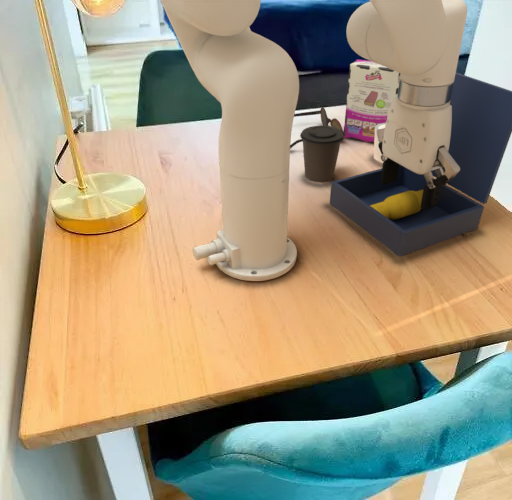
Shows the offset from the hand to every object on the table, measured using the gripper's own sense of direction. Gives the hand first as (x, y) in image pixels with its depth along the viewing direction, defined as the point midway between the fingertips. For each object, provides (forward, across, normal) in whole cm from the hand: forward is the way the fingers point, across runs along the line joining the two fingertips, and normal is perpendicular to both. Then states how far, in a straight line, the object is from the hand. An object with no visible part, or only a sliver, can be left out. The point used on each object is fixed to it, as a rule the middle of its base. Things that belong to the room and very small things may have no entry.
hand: (408, 194), depth 84 cm
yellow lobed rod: (+4, 0, -1) cm, 4 cm away
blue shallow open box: (+5, 0, -1) cm, 5 cm away
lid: (-9, 0, +8) cm, 12 cm away
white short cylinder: (+5, -19, +12) cm, 23 cm away
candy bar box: (+5, -30, +16) cm, 35 cm away
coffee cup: (+5, -19, -5) cm, 20 cm away
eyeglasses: (+5, -38, +3) cm, 39 cm away
